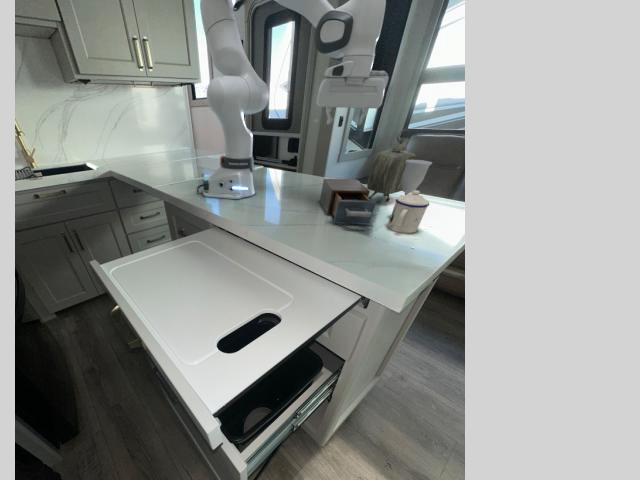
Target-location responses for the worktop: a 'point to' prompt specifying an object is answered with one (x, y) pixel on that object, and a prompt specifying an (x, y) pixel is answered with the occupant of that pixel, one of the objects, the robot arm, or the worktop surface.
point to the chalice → (414, 174)
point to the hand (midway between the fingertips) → (343, 124)
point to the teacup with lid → (408, 212)
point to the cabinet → (339, 190)
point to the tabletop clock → (389, 169)
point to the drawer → (352, 208)
